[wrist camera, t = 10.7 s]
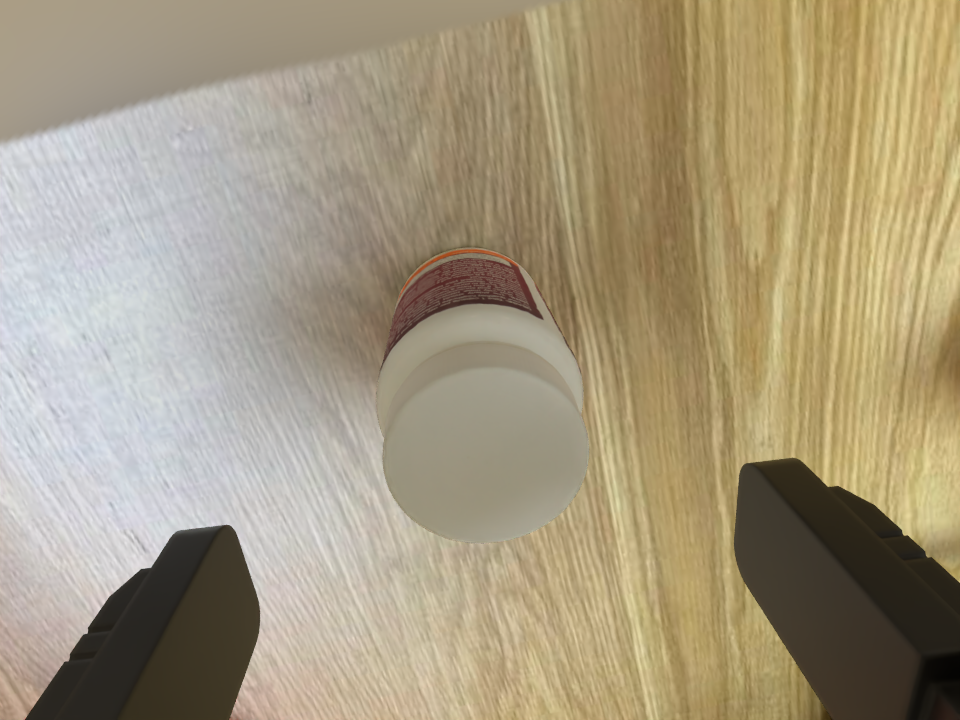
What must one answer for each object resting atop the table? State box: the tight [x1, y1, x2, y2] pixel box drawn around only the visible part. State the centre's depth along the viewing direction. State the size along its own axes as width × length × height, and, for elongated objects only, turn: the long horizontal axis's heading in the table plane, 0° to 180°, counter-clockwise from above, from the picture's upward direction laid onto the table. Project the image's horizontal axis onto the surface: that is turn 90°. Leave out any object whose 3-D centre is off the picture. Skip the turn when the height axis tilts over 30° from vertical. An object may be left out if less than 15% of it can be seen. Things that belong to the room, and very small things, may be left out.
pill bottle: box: [376, 248, 589, 544], centre depth 15 cm, size 5×5×8 cm
